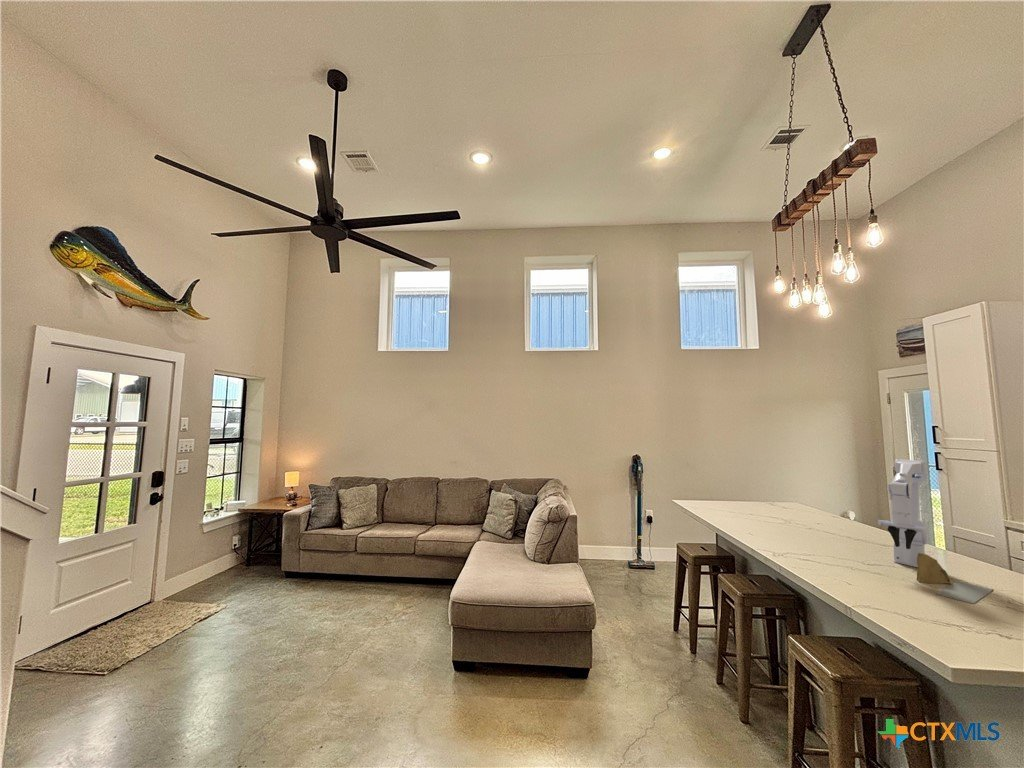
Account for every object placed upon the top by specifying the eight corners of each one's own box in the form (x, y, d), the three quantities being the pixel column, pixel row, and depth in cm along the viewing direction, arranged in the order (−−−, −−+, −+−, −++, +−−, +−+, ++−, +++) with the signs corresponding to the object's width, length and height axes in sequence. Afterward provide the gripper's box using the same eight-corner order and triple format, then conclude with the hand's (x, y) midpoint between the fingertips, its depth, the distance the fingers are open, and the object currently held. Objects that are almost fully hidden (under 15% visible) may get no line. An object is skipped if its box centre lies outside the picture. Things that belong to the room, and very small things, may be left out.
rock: (950, 574, 162) (914, 564, 168) (954, 560, 158) (918, 550, 164) (951, 598, 155) (914, 587, 162) (956, 584, 151) (918, 573, 158)
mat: (936, 594, 148) (936, 593, 148) (958, 581, 161) (958, 580, 161) (973, 604, 141) (973, 603, 141) (993, 590, 153) (993, 589, 153)
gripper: (874, 510, 173) (875, 544, 172) (921, 517, 161) (923, 554, 160) (881, 508, 177) (882, 541, 176) (928, 515, 164) (930, 551, 163)
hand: (902, 547), depth 168 cm, fingers open, 3 cm apart
